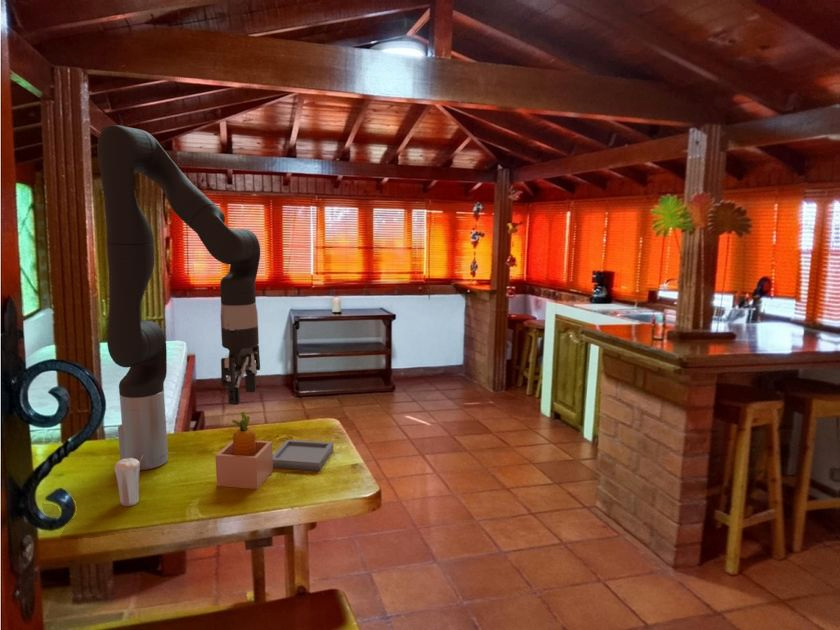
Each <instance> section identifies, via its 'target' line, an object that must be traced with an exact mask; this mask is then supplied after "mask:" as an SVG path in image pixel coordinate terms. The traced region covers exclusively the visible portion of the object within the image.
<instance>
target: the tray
mask: <svg viewBox="0 0 840 630" xmlns="http://www.w3.org/2000/svg"><path fill="white" fill-rule="evenodd" d="M333 452H334V442H330V441H329V442H326V441H313V440H312V441H311V440H298V439H286V440H285V441H284V442H283V443H282V444H281V445H280V446H279V447H278V448H277V450H275V452H273V469H285V470H287V469H288V470H300V471H314V472H320V470H321V469H322V468H323V466H324V465H325V463H326V462H327V460H328V459H329V457H330V456H331V455H332V453H333Z"/></svg>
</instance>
